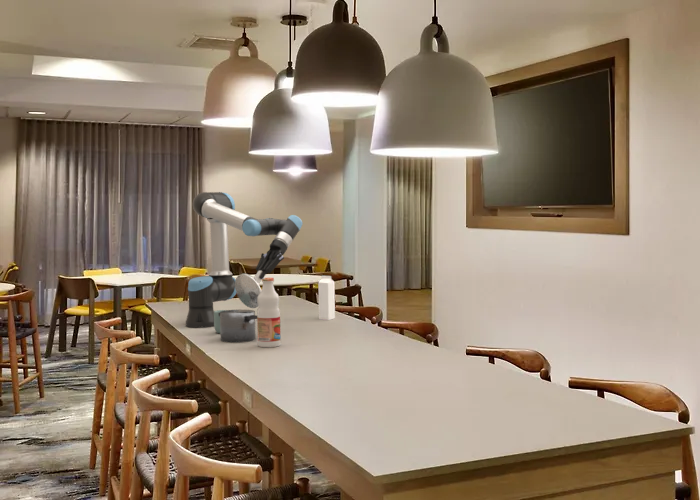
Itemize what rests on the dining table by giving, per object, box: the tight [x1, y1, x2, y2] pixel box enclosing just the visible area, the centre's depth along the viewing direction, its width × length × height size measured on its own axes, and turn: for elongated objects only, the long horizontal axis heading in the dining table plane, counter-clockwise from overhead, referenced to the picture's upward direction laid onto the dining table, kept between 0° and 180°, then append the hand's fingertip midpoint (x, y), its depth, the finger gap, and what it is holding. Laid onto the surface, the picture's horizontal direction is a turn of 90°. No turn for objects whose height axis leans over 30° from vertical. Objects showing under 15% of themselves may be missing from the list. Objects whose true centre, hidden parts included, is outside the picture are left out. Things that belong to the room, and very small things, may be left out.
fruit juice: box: [256, 277, 282, 348], centre depth 315 cm, size 9×9×28 cm
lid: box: [235, 273, 262, 309], centre depth 337 cm, size 16×16×3 cm
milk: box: [317, 275, 336, 321], centre depth 388 cm, size 6×6×22 cm
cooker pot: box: [219, 309, 257, 343], centre depth 332 cm, size 15×20×12 cm
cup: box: [213, 309, 227, 334], centre depth 350 cm, size 8×8×10 cm
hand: (254, 283), depth 337 cm, fingers closed, pressing on lid
